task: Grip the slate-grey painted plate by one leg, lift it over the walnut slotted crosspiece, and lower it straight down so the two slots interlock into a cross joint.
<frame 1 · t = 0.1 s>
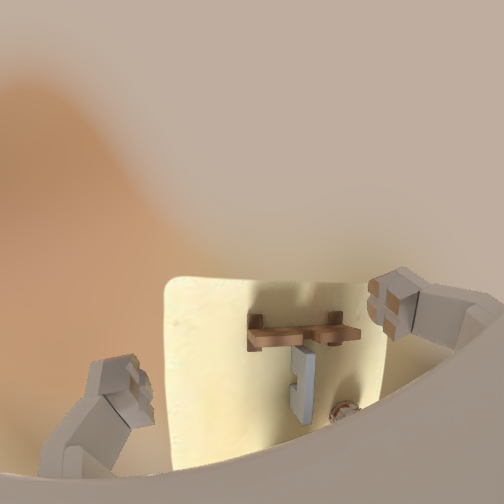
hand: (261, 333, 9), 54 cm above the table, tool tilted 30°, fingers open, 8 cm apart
grey plate: (294, 376, 64), on the table
decorative ornament: (342, 413, 65), on the table
walnut crosspiece: (295, 330, 65), on the table
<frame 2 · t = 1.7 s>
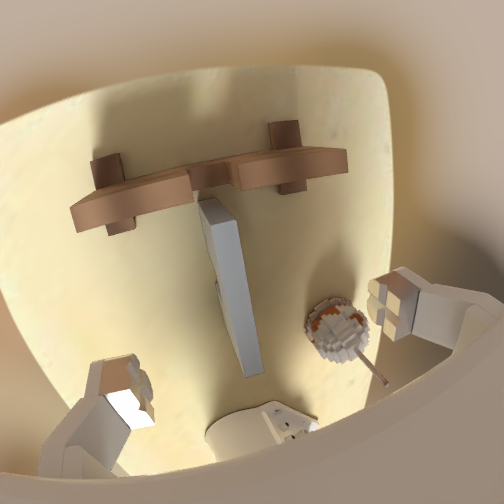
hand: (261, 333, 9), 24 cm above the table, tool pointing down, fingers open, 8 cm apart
grey plate: (220, 267, 34), on the table
decorative ornament: (327, 318, 42), on the table
walnut crosspiece: (201, 171, 30), on the table
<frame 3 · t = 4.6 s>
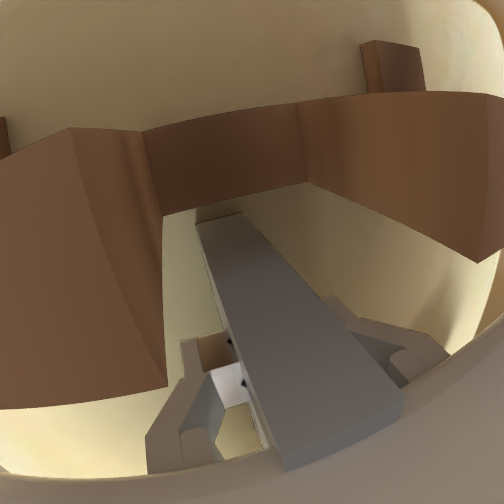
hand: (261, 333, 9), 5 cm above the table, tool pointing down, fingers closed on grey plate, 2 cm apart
grey plate: (250, 356, 16), on the table, touching gripper
walnut crosspiece: (203, 146, 11), on the table
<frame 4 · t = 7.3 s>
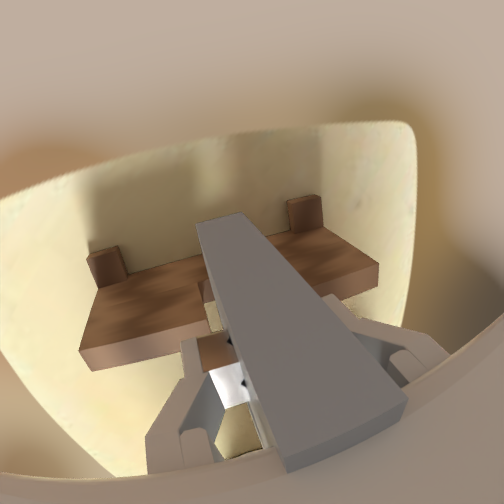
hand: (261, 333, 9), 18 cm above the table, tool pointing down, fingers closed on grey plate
grey plate: (250, 356, 16), point 14 cm above the table, touching gripper
walnut crosspiece: (212, 261, 28), on the table
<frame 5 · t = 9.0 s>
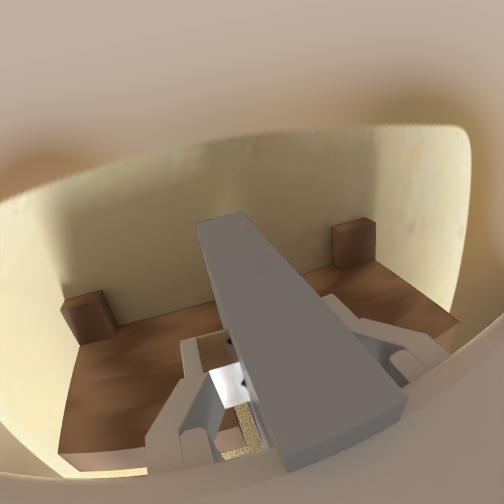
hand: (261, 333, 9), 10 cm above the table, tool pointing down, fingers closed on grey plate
grey plate: (250, 355, 16), point 5 cm above the table, touching gripper
walnut crosspiece: (231, 308, 20), on the table
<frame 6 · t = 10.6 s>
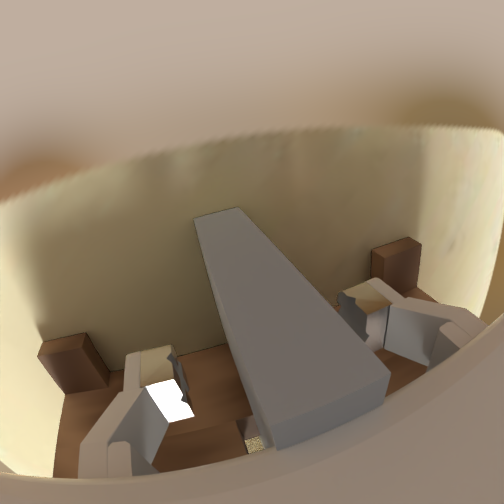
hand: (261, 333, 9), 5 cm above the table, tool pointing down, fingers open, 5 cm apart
grey plate: (248, 349, 16), on the table, touching walnut crosspiece
walnut crosspiece: (248, 350, 16), on the table
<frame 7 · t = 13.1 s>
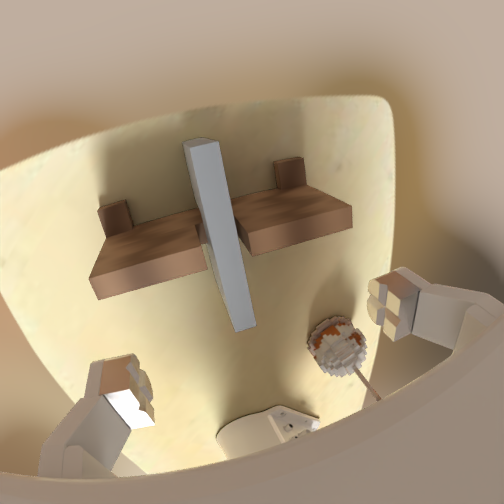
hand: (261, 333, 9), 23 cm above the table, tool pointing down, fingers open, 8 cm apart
grey plate: (208, 213, 31), on the table, touching walnut crosspiece
decorative ornament: (328, 333, 44), on the table
walnut crosspiece: (208, 214, 31), on the table
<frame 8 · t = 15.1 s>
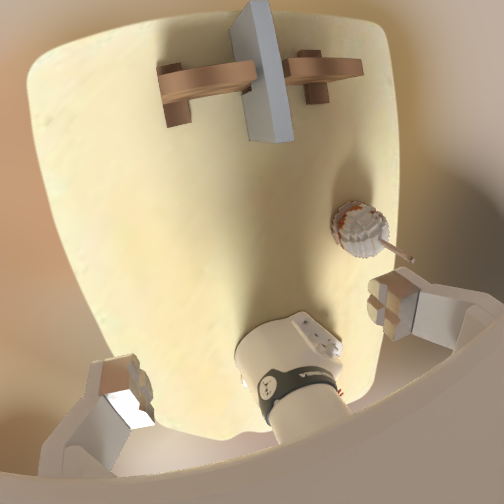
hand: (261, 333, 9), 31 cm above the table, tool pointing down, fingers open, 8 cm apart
grey plate: (246, 81, 34), on the table, touching walnut crosspiece
decorative ornament: (349, 223, 46), on the table
walnut crosspiece: (246, 82, 34), on the table
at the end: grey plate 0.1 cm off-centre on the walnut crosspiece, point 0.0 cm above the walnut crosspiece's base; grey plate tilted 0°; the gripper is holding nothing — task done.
